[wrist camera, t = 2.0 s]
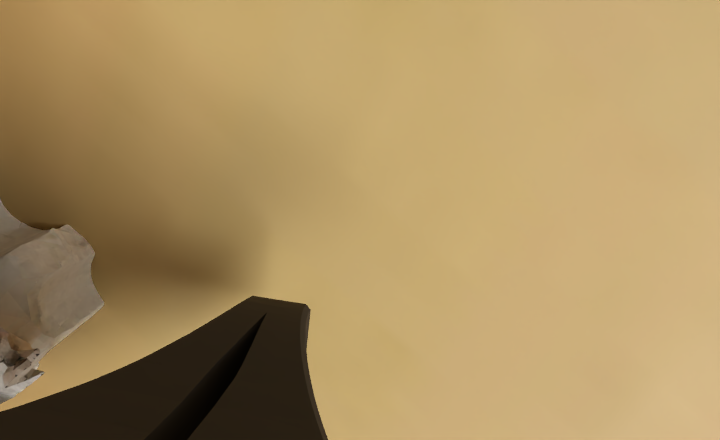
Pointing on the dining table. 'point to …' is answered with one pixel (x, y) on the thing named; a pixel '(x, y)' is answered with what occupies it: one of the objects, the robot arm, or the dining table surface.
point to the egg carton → (39, 296)
